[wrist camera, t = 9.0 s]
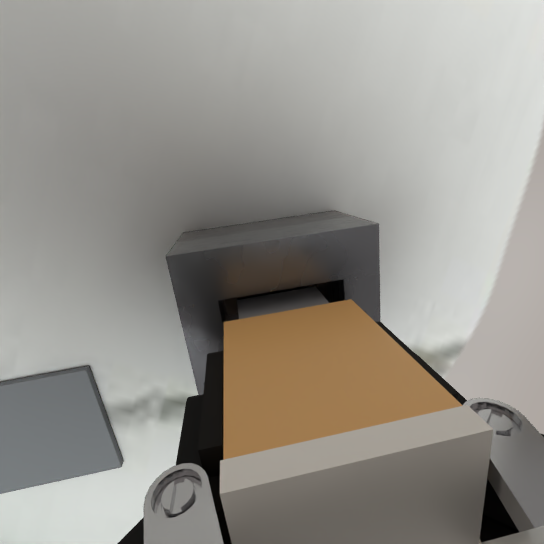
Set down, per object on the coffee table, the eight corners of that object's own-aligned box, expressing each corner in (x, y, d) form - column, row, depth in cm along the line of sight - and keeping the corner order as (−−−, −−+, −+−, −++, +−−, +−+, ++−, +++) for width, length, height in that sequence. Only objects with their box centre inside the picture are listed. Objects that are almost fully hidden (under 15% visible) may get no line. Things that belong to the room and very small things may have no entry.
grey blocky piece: (183, 232, 16) (90, 357, 5) (334, 210, 16) (549, 274, 6) (233, 467, 21) (244, 793, 10) (347, 441, 21) (476, 714, 11)
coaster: (-50, 391, 16) (-56, 396, 16) (88, 365, 17) (85, 370, 17) (2, 487, 18) (-2, 494, 18) (123, 461, 19) (121, 467, 19)
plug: (222, 290, 13) (219, 494, 5) (326, 273, 14) (493, 429, 5) (239, 380, 15) (260, 661, 6) (332, 361, 15) (471, 598, 7)
